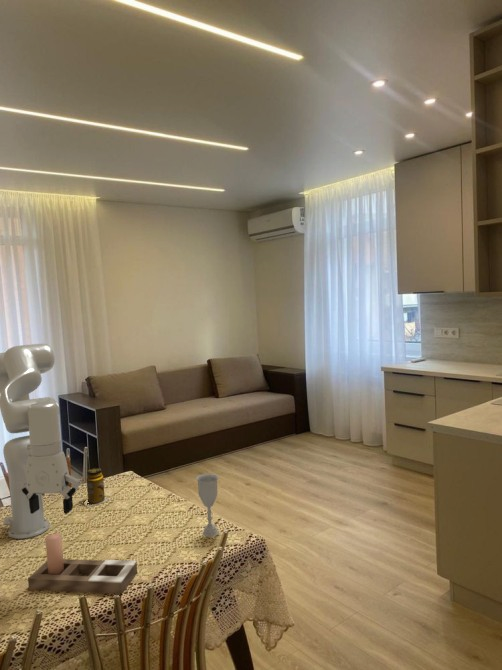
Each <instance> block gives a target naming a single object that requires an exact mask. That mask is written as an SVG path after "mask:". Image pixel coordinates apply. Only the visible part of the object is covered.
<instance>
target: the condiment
mask: <svg viewBox="0 0 502 670" xmlns="http://www.w3.org/2000/svg"><path fill="white" fill-rule="evenodd" d="M102 472H103V470H102V469H101V468H100V467H97V468H96V467H94V468H91V469H88V470H87V472H86V473H87V475H86V477H87V478H86V487H87V488H86V490H87V499H85V500H81V501H79V503H80V504H82V505H83V504H84V502H85V501H86V500H88V502H89V503H87V508H91V507H93V506H96V505H99V504H102V503H106V502H108V501H109V498H106V497H105V484H104V475H103V473H102ZM82 502H83V503H82ZM88 504H90V505H88ZM91 504H93V505H91ZM85 507H86V505H85Z"/></svg>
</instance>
